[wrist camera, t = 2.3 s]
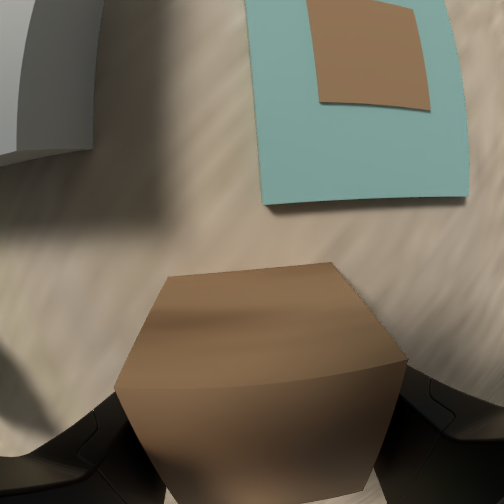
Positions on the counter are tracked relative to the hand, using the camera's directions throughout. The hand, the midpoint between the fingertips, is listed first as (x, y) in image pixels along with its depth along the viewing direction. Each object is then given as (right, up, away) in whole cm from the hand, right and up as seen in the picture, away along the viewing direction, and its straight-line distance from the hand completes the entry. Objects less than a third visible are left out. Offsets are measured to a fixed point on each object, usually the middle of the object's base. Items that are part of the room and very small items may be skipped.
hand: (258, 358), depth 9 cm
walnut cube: (0, 0, +1) cm, 1 cm away
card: (+3, +9, -2) cm, 10 cm away
